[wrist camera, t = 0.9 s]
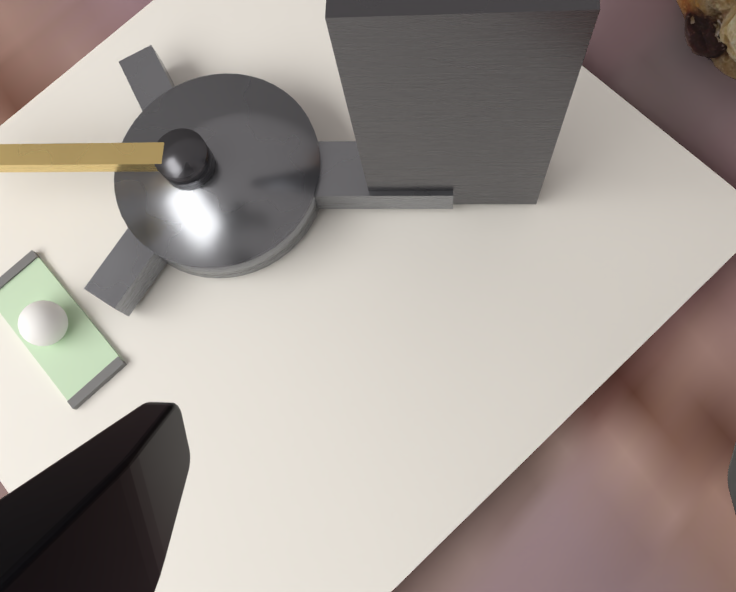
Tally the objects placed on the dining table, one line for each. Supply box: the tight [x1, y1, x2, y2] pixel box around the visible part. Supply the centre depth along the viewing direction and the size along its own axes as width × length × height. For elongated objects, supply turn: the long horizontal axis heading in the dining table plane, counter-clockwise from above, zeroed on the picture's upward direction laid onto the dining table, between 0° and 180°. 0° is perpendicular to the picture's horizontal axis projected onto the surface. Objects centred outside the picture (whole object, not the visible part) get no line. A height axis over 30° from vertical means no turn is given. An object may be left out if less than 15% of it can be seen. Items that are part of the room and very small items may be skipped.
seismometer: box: [0, 0, 600, 316], centre depth 18 cm, size 19×9×9 cm, turn 88°
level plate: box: [0, 0, 736, 592], centre depth 22 cm, size 20×22×2 cm
